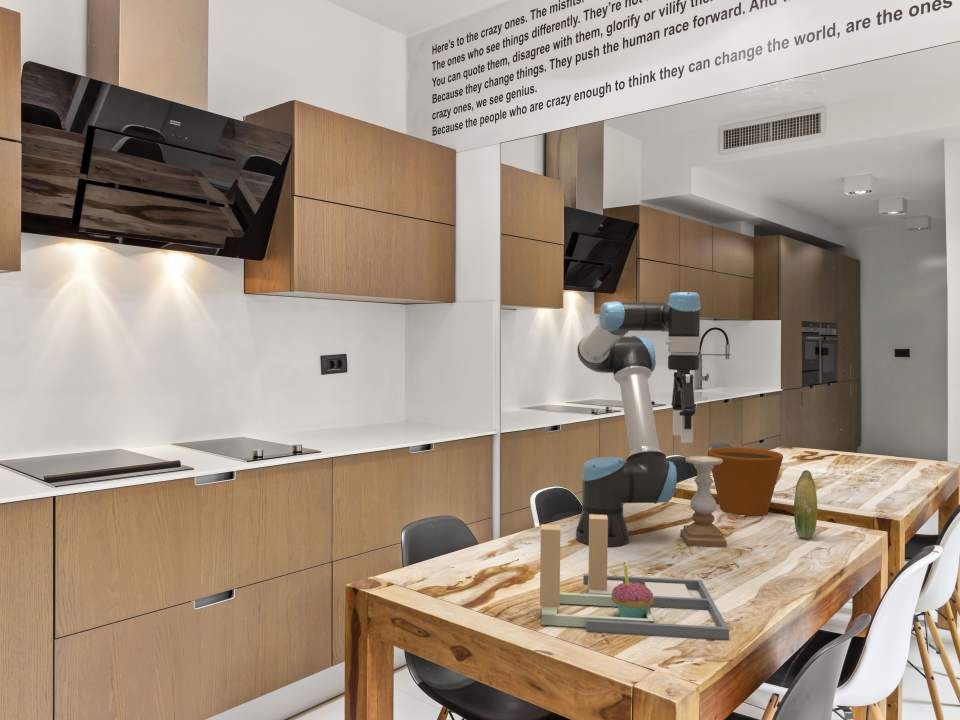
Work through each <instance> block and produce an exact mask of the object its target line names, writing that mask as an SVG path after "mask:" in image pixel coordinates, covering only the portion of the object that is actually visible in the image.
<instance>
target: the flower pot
mask: <svg viewBox="0 0 960 720" xmlns="http://www.w3.org/2000/svg"><path fill="white" fill-rule="evenodd" d="M707 456H710V457H717V458H721V459H722V460H723V463H722V464H719V465H714V468H713V469H712V470H711V473H712V478H713V484H714V487H715V491H716V495H717V500H718V504H719V507H720V511H722V512H723V513H727V514H729V513H731V514H730V515H734V514H737V515H736V516H740V515H745V516H744V517H751V516H759V517H764V516H763V515H765V516H767V515H768V512H769V510H770V505H771V503H772V497H773V494H774V491H775V489H776V484H777V481H778V477H779V474H780V470H781V467H782V463H783V460H784V455H783V454H782V453H781V452H778V451H775V450H769V449H762V448H754V447H753V448H752V447H734V446H727V447H723V446H722V447H714V448H710V449H708V451H707Z"/></svg>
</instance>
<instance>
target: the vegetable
mask: <svg viewBox="0 0 960 720" xmlns="http://www.w3.org/2000/svg"><path fill="white" fill-rule="evenodd" d="M793 515H794V517H793V519H794V520H793V521H794V527H795V531H796V533H797V535H798V536H799V537H800V538H802V539H806V540H807V539H811V538H812V537H813V535H815V533H816V527H817V523H818V522H817V521H818V520H817V519H818V495H817V490H816V484H815V481H814V478H813V476H812V473H811V471H810V470H807V469H805V470H803V471H802V473H801V474H800V476H799V478H798V480H797V482H796V485H795V493H794V499H793Z"/></svg>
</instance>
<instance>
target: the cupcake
mask: <svg viewBox="0 0 960 720" xmlns="http://www.w3.org/2000/svg"><path fill="white" fill-rule="evenodd" d="M623 572H624V576H625V581H626V582H625V583H622V584H619V585H618V586H616V587H615V588H614V589H613V590H612V600H613V602H614V603H616V605H617V606H616V607H617V610H618V614H619V617H625V618H643V619H645V613H646V610H647V609H648V607H649V606H651V605H652V604H653V603H654V598H653V593H652V592H651V591H650V590H649V589H648V588H647V587H646V586H644V585H643V584H641V583H635V582H634V583H632V582H629V580H628V577H629V574H628V566H627V563H626V562H625V561H623Z"/></svg>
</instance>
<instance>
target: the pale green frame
mask: <svg viewBox="0 0 960 720" xmlns="http://www.w3.org/2000/svg"><path fill="white" fill-rule="evenodd" d="M539 553H540V558H539V559H540V564H539V566H540V567H539V568H540V571H539V572H540V573H539V576H540V577H539V607H542V608H541V625H542V626H559V627H576V628H586V625H587V619H591V620H608V621H626V622H644V623H655V620H654V616H653V613H652V611H651V610H652V609H651V607H650V606H649V607H648V609H647V610H646V613H645V617H644V619H643V618H625V617H620V616H608V615H604V616H602V615H589V614H588V615H586V614H570V613H567V614H566V613H558V608H560V604H561V605H562V604H565V605H581V606H582V605H583V606H601V607H617V605H616V603H614V602H613V600H612V595H596V594H585V593H576V592H575V593H574V592H573V593H572V592H571V593H570V592H561V587H560V586H561V524H543V523H542V524H541V526H540V552H539Z"/></svg>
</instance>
